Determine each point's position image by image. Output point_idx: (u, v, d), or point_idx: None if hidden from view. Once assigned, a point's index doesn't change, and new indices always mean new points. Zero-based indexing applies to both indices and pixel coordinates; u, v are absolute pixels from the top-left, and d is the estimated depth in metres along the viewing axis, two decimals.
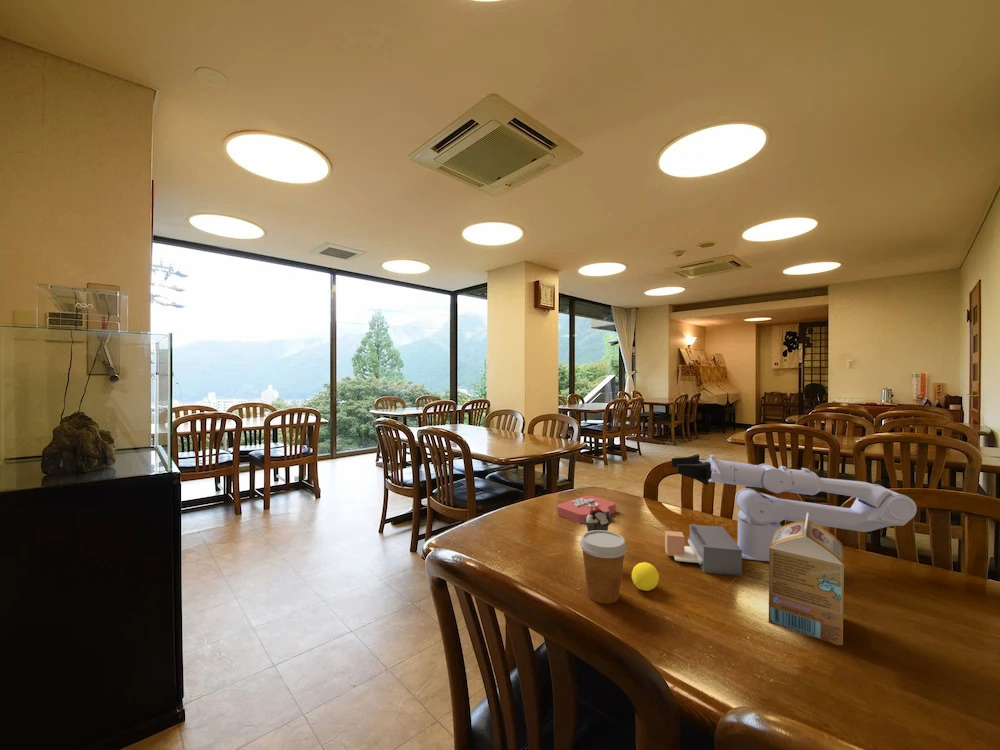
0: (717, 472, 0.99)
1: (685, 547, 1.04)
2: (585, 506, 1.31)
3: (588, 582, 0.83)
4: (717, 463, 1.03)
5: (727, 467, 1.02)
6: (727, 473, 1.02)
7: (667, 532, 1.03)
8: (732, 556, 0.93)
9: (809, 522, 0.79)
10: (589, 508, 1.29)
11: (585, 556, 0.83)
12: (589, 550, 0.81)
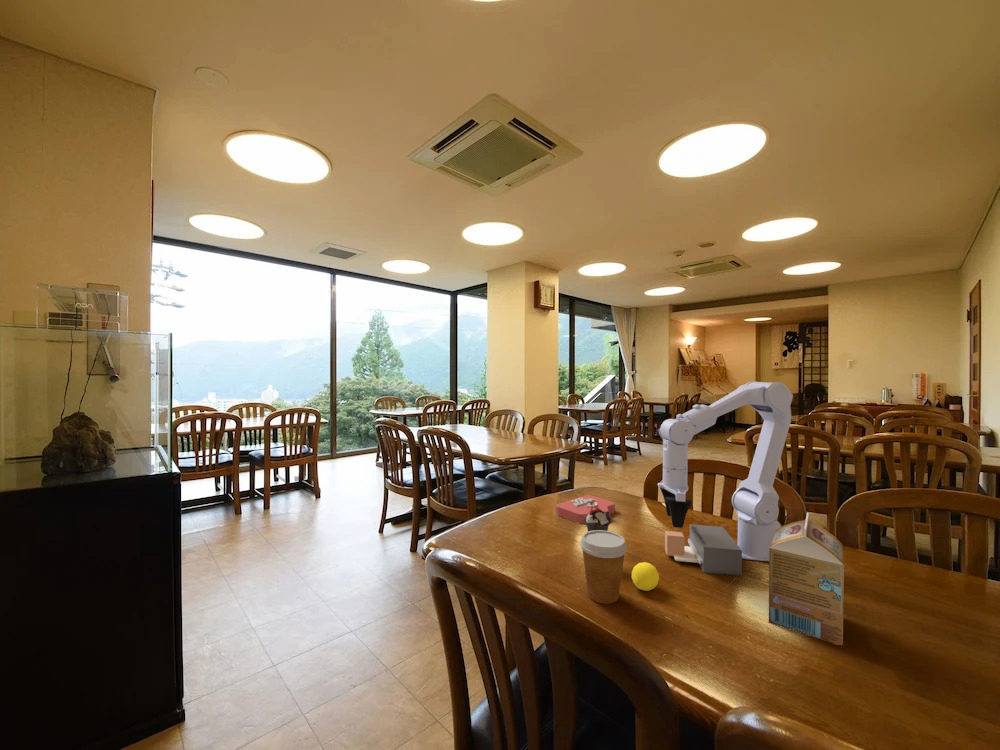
0: (675, 495, 0.95)
1: (685, 547, 1.04)
2: (584, 506, 1.31)
3: (588, 582, 0.83)
4: (666, 483, 1.00)
5: (669, 475, 1.00)
6: (676, 476, 0.99)
7: (667, 532, 1.03)
8: (732, 556, 0.93)
9: (809, 522, 0.79)
10: (588, 508, 1.29)
11: (585, 556, 0.83)
12: (589, 550, 0.81)
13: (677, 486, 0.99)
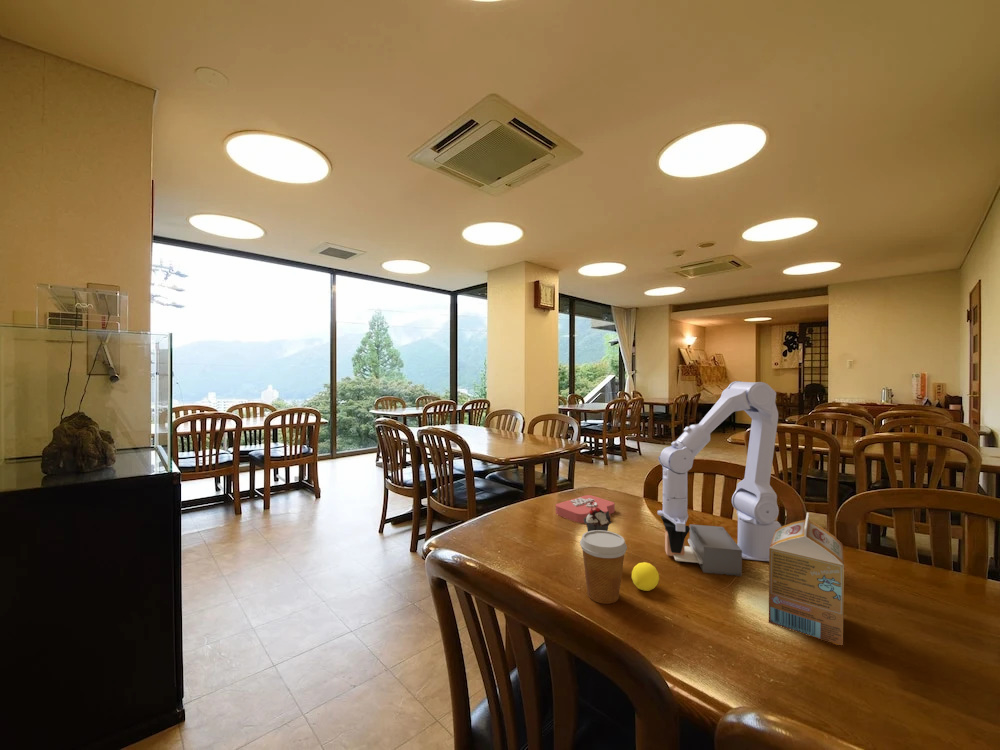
0: (675, 524, 0.96)
1: (685, 547, 1.04)
2: (584, 506, 1.31)
3: (588, 582, 0.83)
4: (666, 512, 1.01)
5: (669, 504, 1.00)
6: (675, 505, 0.99)
7: (667, 532, 1.03)
8: (732, 556, 0.93)
9: (809, 522, 0.79)
10: (588, 508, 1.29)
11: (585, 556, 0.83)
12: (589, 550, 0.81)
13: (677, 515, 0.99)
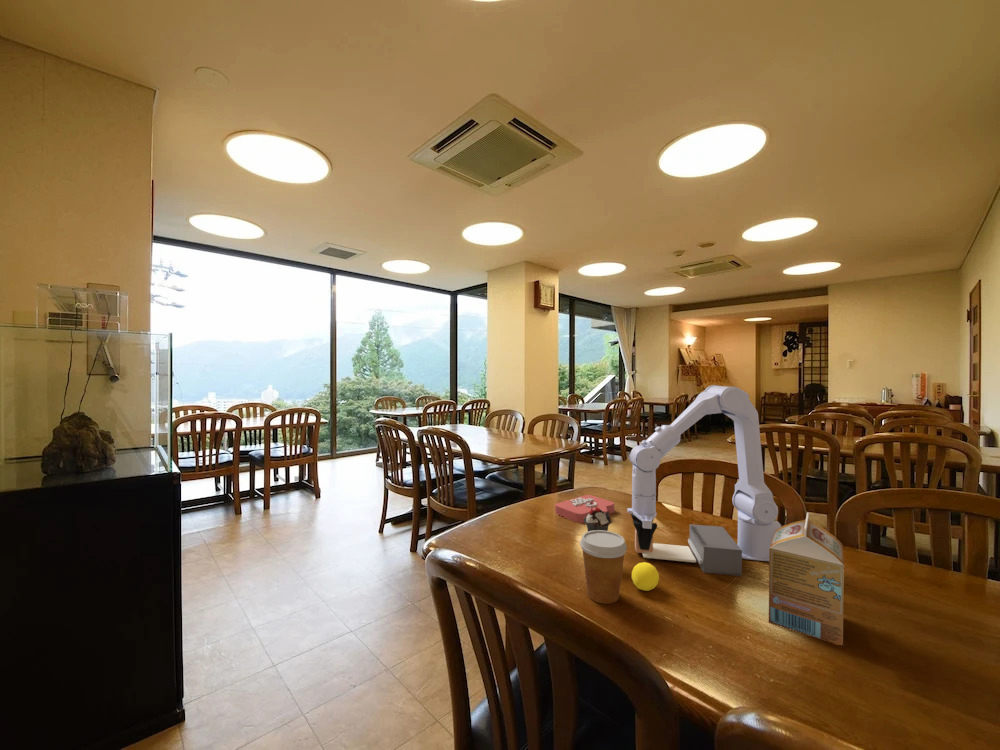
0: (642, 522, 0.97)
1: (655, 544, 1.06)
2: (583, 505, 1.31)
3: (588, 582, 0.83)
4: (635, 509, 1.02)
5: (637, 501, 1.02)
6: (643, 503, 1.01)
7: None
8: (732, 556, 0.93)
9: (809, 522, 0.79)
10: (587, 507, 1.29)
11: (585, 556, 0.83)
12: (589, 550, 0.81)
13: (645, 512, 1.01)
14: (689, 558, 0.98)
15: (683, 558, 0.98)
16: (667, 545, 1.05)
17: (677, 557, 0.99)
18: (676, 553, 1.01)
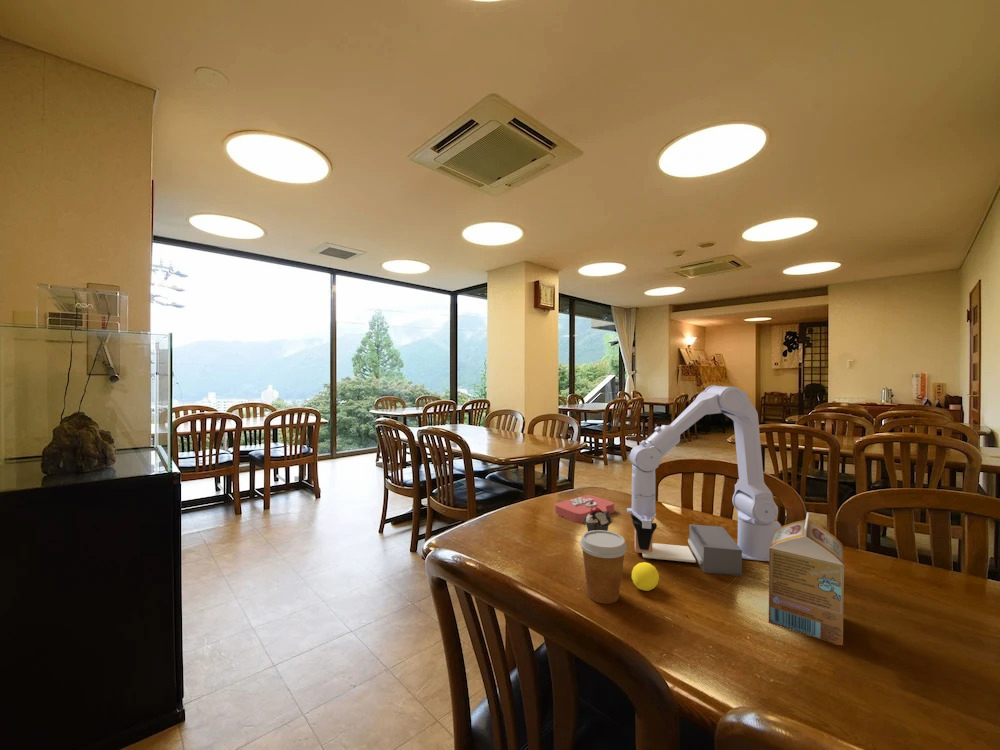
0: (642, 522, 0.97)
1: (654, 544, 1.06)
2: (583, 505, 1.32)
3: (588, 582, 0.83)
4: (634, 509, 1.02)
5: (637, 501, 1.02)
6: (643, 503, 1.01)
7: None
8: (732, 556, 0.93)
9: (809, 522, 0.79)
10: (587, 507, 1.30)
11: (585, 556, 0.83)
12: (589, 550, 0.81)
13: (644, 512, 1.01)
14: (689, 558, 0.98)
15: (683, 558, 0.98)
16: (667, 545, 1.05)
17: (677, 557, 0.99)
18: (676, 553, 1.01)
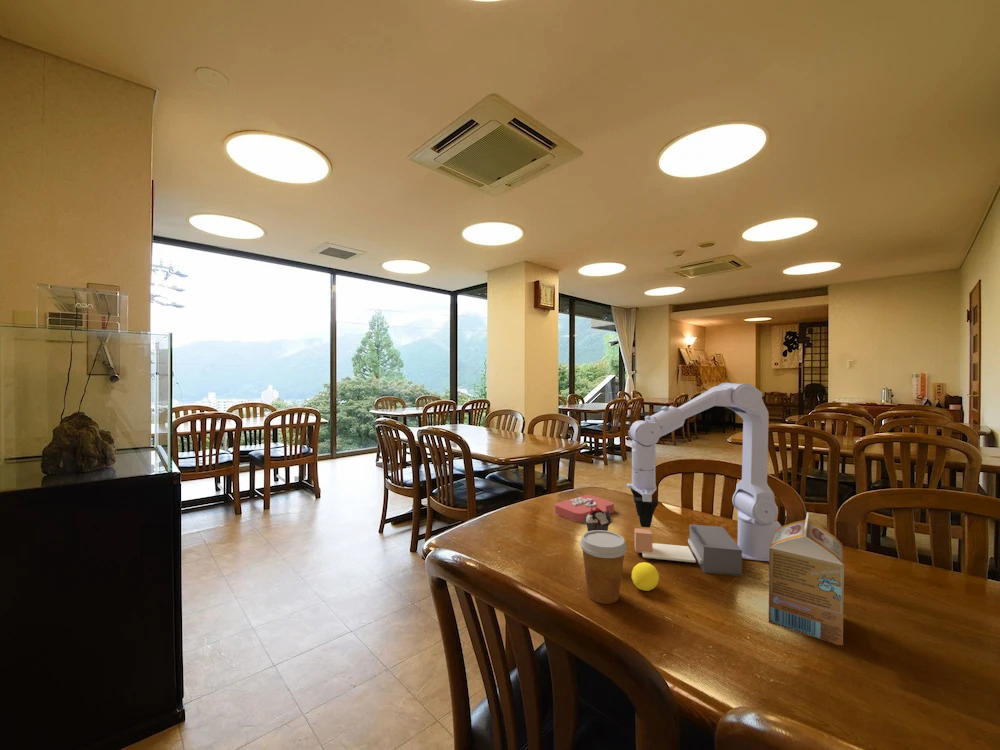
0: (642, 495, 0.97)
1: (654, 544, 1.06)
2: (583, 505, 1.32)
3: (588, 582, 0.83)
4: (634, 484, 1.02)
5: (637, 476, 1.01)
6: (643, 477, 1.01)
7: (636, 529, 1.04)
8: (732, 556, 0.93)
9: (809, 522, 0.79)
10: (586, 507, 1.30)
11: (585, 556, 0.83)
12: (589, 550, 0.81)
13: (645, 486, 1.01)
14: (689, 558, 0.98)
15: (683, 558, 0.98)
16: (667, 545, 1.05)
17: (677, 557, 0.99)
18: (676, 553, 1.01)
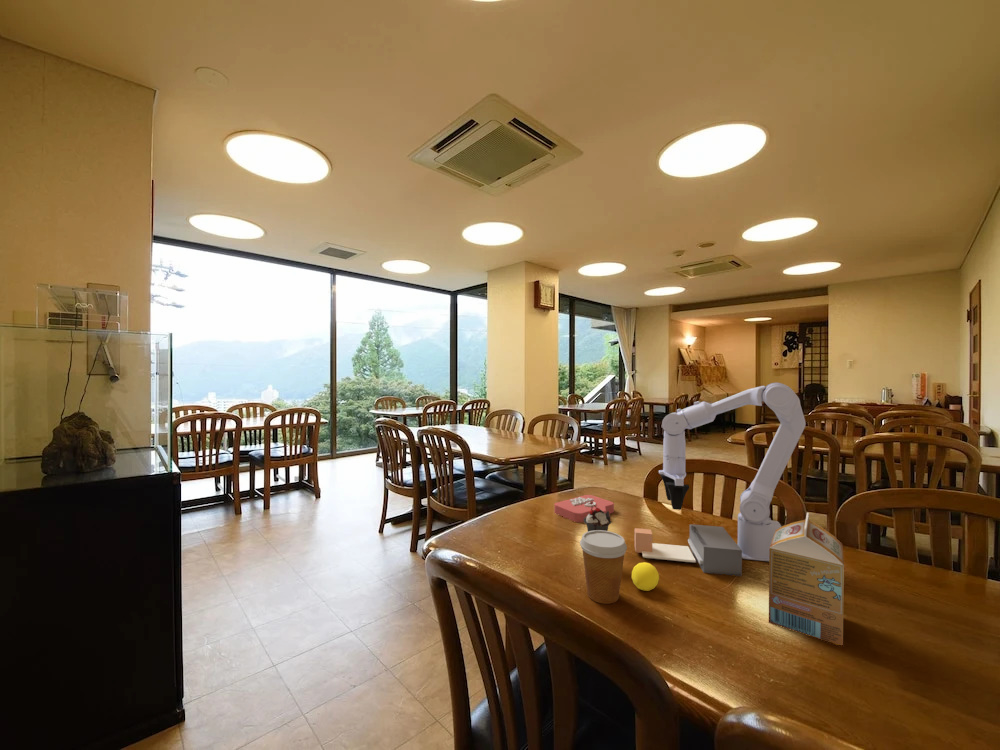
0: (674, 480, 1.07)
1: (654, 544, 1.06)
2: (582, 505, 1.32)
3: (588, 582, 0.83)
4: (666, 470, 1.12)
5: (669, 463, 1.11)
6: (675, 464, 1.10)
7: (636, 529, 1.04)
8: (732, 556, 0.93)
9: (809, 522, 0.79)
10: (586, 507, 1.30)
11: (585, 556, 0.83)
12: (589, 550, 0.81)
13: (676, 472, 1.10)
14: (689, 558, 0.98)
15: (683, 558, 0.98)
16: (667, 545, 1.05)
17: (677, 557, 0.99)
18: (676, 553, 1.01)
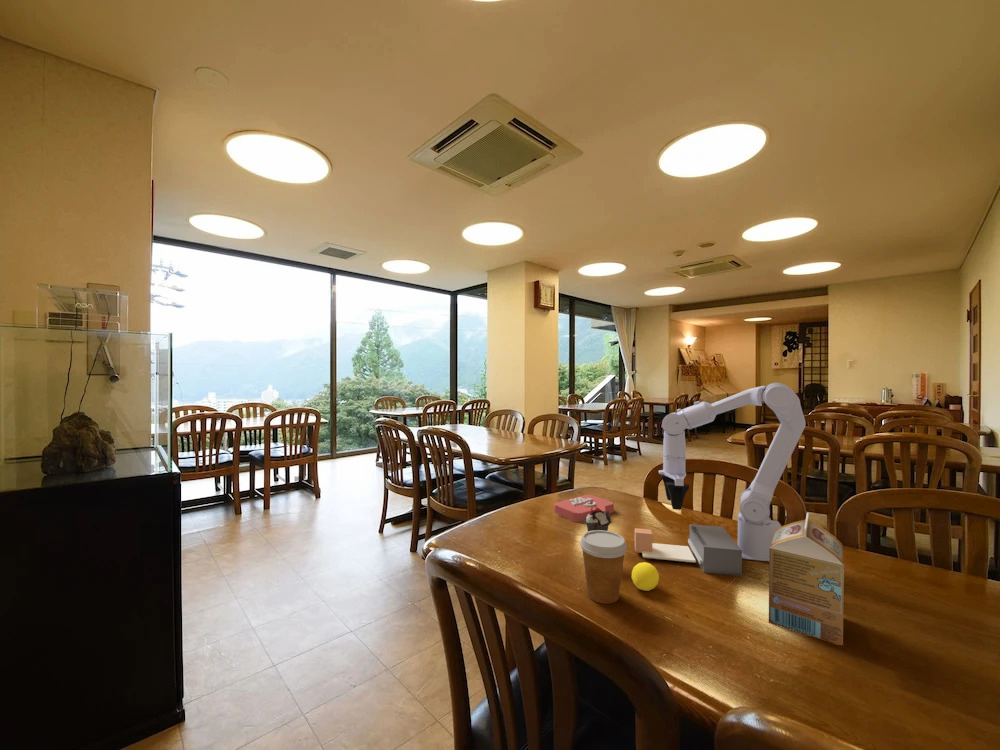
0: (674, 480, 1.07)
1: (654, 544, 1.06)
2: (582, 505, 1.32)
3: (588, 582, 0.83)
4: (666, 470, 1.12)
5: (669, 463, 1.11)
6: (675, 464, 1.10)
7: (636, 529, 1.04)
8: (732, 556, 0.93)
9: (809, 522, 0.79)
10: (585, 507, 1.30)
11: (585, 556, 0.83)
12: (589, 550, 0.81)
13: (676, 472, 1.10)
14: (689, 558, 0.98)
15: (683, 558, 0.98)
16: (667, 545, 1.05)
17: (677, 557, 0.99)
18: (676, 553, 1.01)
